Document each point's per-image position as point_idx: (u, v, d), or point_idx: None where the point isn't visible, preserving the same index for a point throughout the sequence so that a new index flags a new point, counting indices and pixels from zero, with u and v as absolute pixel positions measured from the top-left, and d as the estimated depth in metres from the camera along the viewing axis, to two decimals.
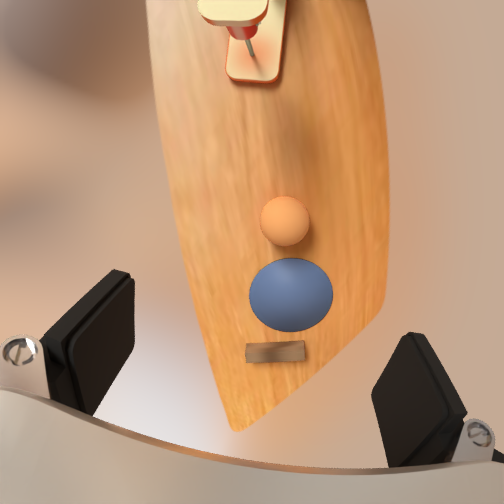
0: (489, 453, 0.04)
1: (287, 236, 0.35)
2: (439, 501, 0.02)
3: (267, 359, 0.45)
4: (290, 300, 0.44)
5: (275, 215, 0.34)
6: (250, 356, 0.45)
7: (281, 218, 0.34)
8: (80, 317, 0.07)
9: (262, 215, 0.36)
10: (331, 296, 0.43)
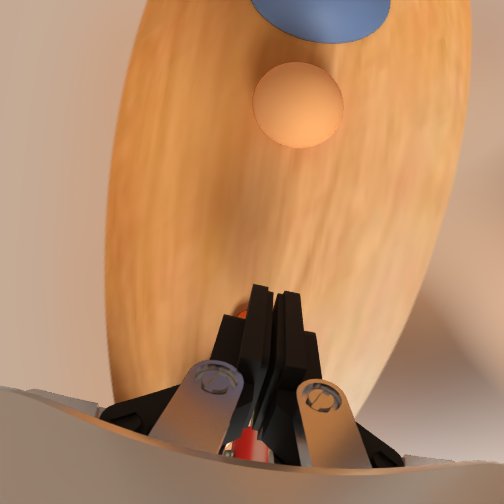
0: (347, 413, 0.06)
1: (301, 81, 0.16)
2: (439, 501, 0.02)
3: None
4: None
5: (312, 125, 0.17)
6: None
7: (303, 116, 0.16)
8: (260, 334, 0.08)
9: (334, 129, 0.18)
10: None
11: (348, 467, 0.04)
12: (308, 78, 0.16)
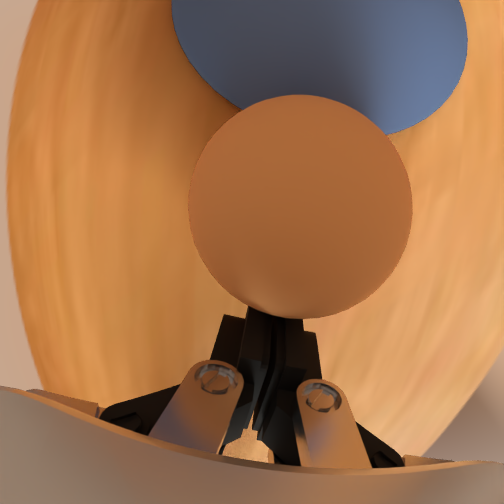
0: (347, 413, 0.06)
1: (326, 106, 0.06)
2: (439, 501, 0.02)
3: None
4: None
5: (367, 228, 0.06)
6: None
7: (343, 196, 0.05)
8: (260, 334, 0.08)
9: (400, 256, 0.07)
10: None
11: (348, 467, 0.04)
12: (340, 106, 0.06)
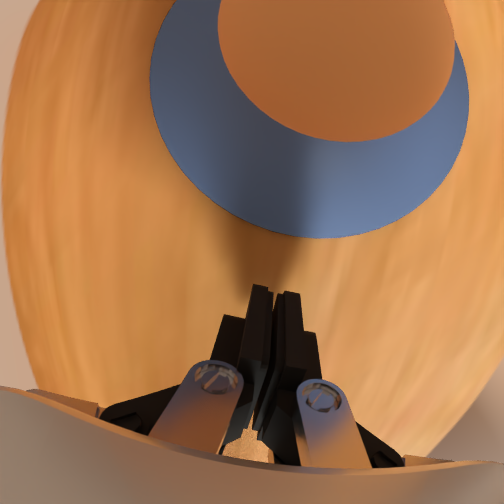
0: (347, 413, 0.06)
1: None
2: (439, 501, 0.02)
3: None
4: None
5: None
6: None
7: None
8: (260, 334, 0.08)
9: None
10: (160, 40, 0.09)
11: (348, 467, 0.04)
12: None
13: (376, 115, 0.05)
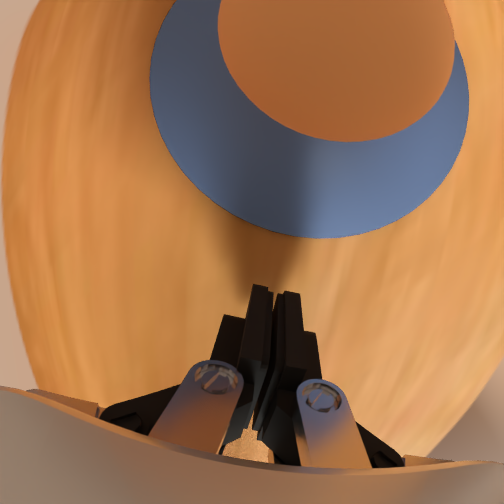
0: (347, 413, 0.06)
1: None
2: (439, 501, 0.02)
3: None
4: None
5: None
6: None
7: None
8: (260, 334, 0.08)
9: None
10: (160, 40, 0.09)
11: (348, 467, 0.04)
12: None
13: (376, 115, 0.05)
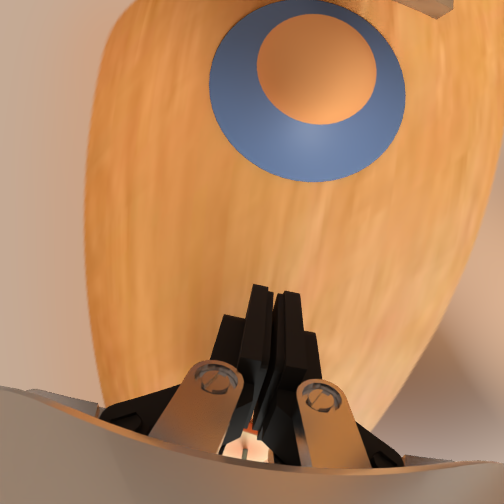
0: (347, 413, 0.06)
1: None
2: (439, 501, 0.02)
3: None
4: None
5: None
6: None
7: None
8: (260, 334, 0.08)
9: None
10: (215, 62, 0.16)
11: (348, 467, 0.04)
12: None
13: (330, 111, 0.12)
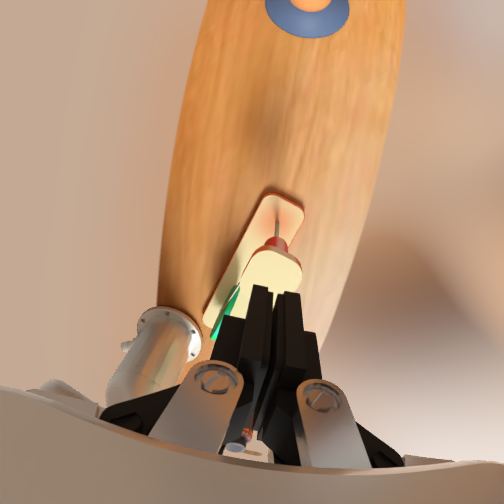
0: (347, 413, 0.06)
1: None
2: (439, 501, 0.02)
3: None
4: None
5: None
6: None
7: None
8: (260, 334, 0.08)
9: None
10: None
11: (348, 467, 0.04)
12: None
13: (314, 2, 0.28)
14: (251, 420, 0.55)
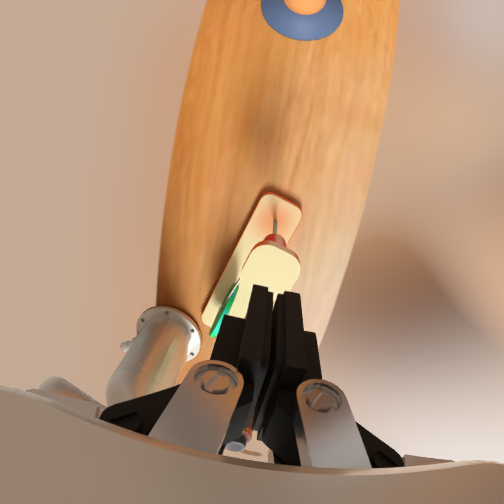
0: (347, 413, 0.06)
1: None
2: (439, 501, 0.02)
3: None
4: None
5: None
6: None
7: None
8: (260, 334, 0.08)
9: None
10: None
11: (348, 467, 0.04)
12: None
13: (309, 5, 0.30)
14: (251, 419, 0.55)
